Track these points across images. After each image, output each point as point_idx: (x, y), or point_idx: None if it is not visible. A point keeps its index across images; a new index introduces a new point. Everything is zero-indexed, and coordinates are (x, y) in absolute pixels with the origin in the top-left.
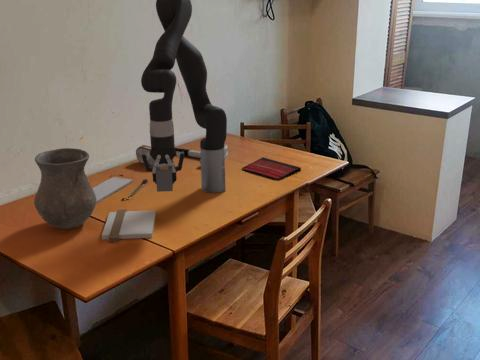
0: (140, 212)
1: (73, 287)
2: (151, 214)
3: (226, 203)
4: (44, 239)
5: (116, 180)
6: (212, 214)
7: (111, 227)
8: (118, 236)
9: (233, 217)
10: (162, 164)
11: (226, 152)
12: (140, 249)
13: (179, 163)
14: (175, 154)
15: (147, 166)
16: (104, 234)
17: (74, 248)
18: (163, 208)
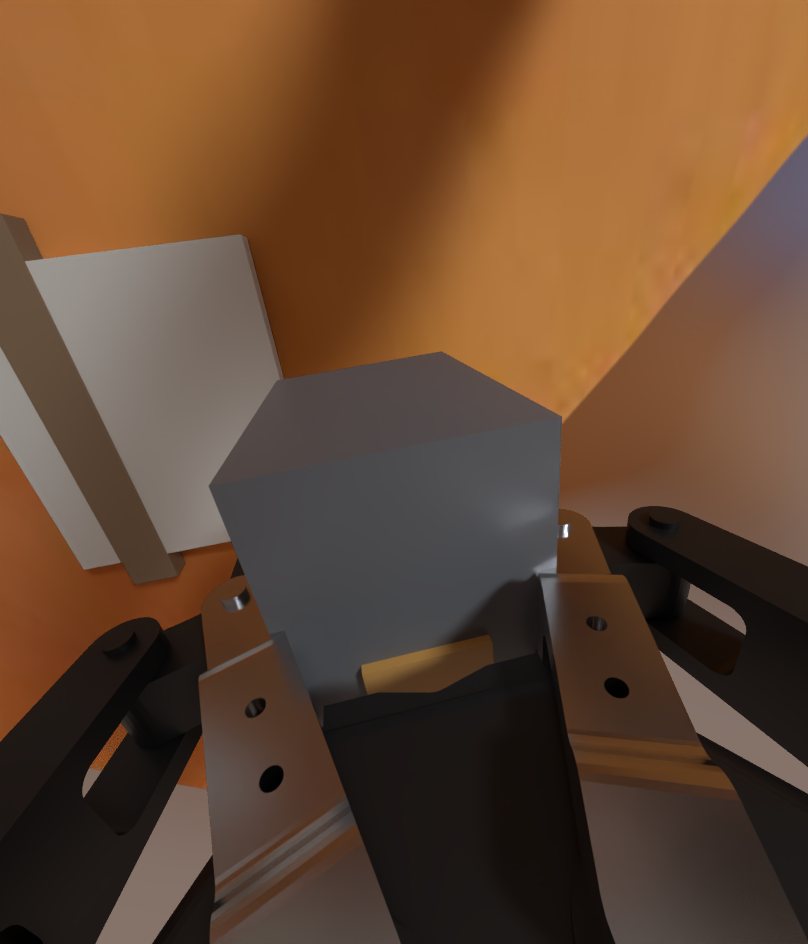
0: (146, 274)
1: (191, 781)
2: (237, 307)
3: (692, 16)
4: None
5: None
6: (583, 231)
7: (80, 492)
8: (173, 563)
9: (681, 272)
10: (368, 555)
11: None
12: None
13: (728, 692)
14: None
15: (140, 806)
16: (93, 560)
17: (23, 631)
18: (265, 119)
